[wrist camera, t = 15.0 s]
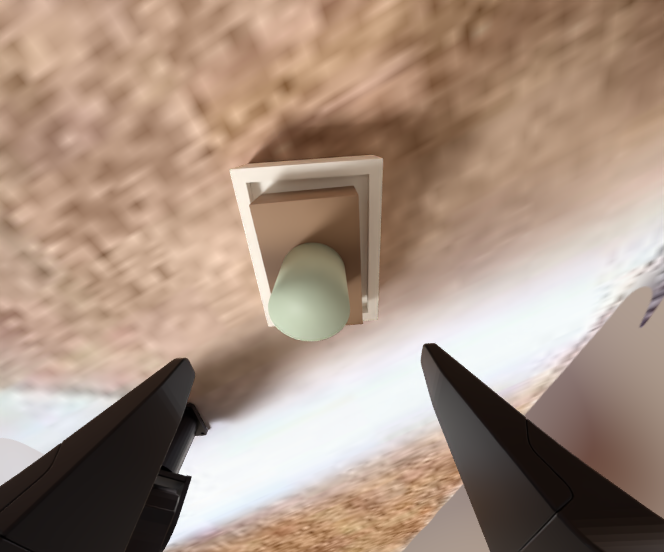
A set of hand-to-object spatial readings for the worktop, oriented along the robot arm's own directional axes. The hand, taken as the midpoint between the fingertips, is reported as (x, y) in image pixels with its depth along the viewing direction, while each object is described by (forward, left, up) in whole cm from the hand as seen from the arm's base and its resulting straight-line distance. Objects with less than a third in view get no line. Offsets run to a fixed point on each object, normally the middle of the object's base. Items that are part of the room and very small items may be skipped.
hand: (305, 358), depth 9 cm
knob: (0, 0, -7) cm, 7 cm away
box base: (0, 0, -13) cm, 13 cm away
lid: (0, 0, -10) cm, 10 cm away
